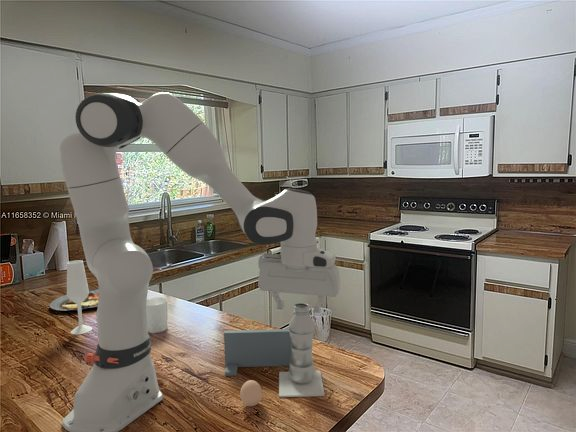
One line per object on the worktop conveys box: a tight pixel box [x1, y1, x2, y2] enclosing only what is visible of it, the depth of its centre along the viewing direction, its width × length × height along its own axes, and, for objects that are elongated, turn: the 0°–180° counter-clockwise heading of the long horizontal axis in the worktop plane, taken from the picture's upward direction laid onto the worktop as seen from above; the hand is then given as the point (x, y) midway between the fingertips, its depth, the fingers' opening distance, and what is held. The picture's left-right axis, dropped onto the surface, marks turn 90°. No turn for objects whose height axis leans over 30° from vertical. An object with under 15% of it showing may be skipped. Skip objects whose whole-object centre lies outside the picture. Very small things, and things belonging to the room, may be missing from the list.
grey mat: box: [278, 370, 326, 398], centre depth 103 cm, size 11×11×1 cm
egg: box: [239, 379, 263, 407], centre depth 94 cm, size 5×5×6 cm
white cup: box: [146, 296, 169, 334], centre depth 138 cm, size 8×8×10 cm
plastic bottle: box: [288, 302, 316, 384], centre depth 103 cm, size 6×7×20 cm
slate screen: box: [223, 328, 291, 377], centre depth 110 cm, size 6×22×10 cm, turn 91°
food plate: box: [49, 288, 99, 311], centre depth 166 cm, size 25×23×4 cm
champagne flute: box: [66, 259, 93, 335], centre depth 137 cm, size 7×7×24 cm
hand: (298, 310), depth 100 cm, fingers open, 8 cm apart
